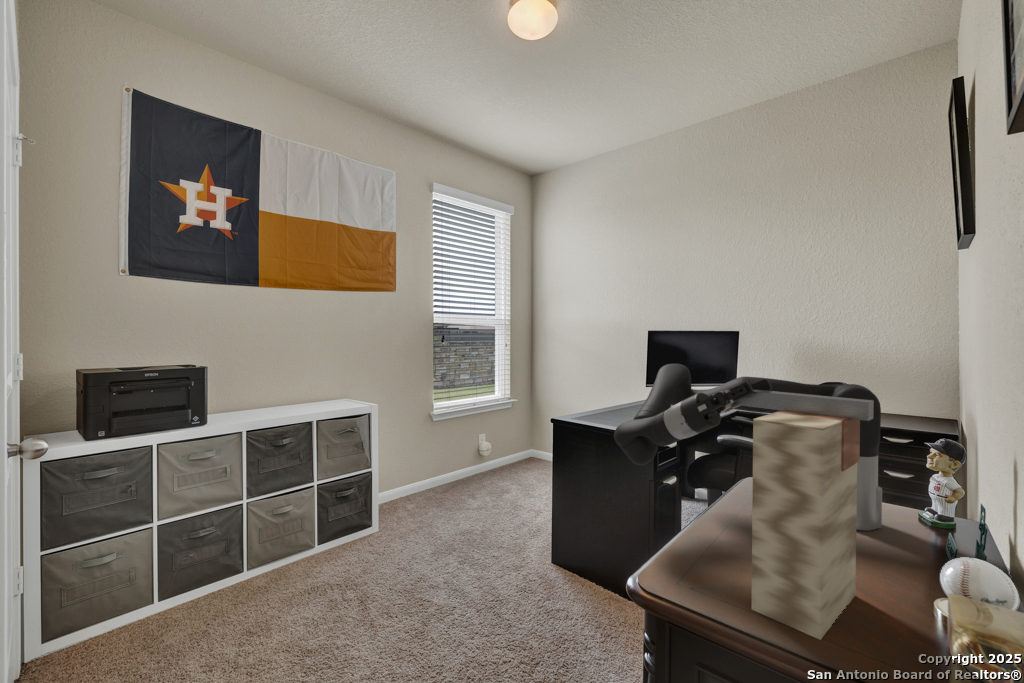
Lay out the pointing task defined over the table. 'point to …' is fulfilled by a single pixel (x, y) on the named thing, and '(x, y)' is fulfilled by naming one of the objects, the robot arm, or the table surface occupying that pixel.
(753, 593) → the zigzag patterned pillar
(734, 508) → the table surface
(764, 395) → the metal block
